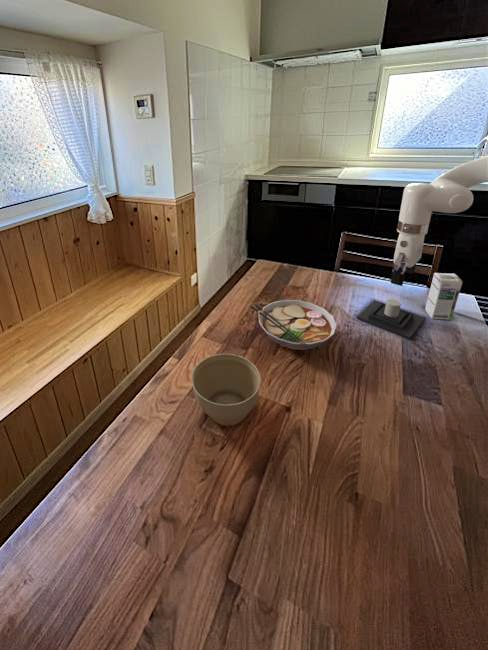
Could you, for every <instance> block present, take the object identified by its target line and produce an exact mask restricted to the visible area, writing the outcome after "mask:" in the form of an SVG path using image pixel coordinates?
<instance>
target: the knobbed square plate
mask: <svg viewBox="0 0 488 650" xmlns="http://www.w3.org/2000/svg"><path fill="white" fill-rule="evenodd" d="M385 304H386V306H383V307H382V308H381V309H380V310H379V311H378V312H377V313H376V315H375V316H378V317H381V318H383V319H386V320H389V321H391V322H394V323H397V324H400V323H401V322H402V321H403V320H404V318H405V317H406V315H407V314H406V313H404V312H401V311H399V310H400V309H401V305H402V302H400V300H397V299H393V298H388V299H387V300H386V301H385Z"/></svg>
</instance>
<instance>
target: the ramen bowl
mask: <svg viewBox="0 0 488 650" xmlns="http://www.w3.org/2000/svg"><path fill="white" fill-rule="evenodd" d="M250 309H252V310H253V311H255V312H256V313H257V314H258V323H259V325H260V327H261V328H262V331H264V333H265V334H266V335H267V336H268V338H269V339H270V340H272V341H273V342H274V343H276V344H278V345H280V346H281V347H284V348H288V349H292V350H298V351H299V350H300V351H301V350H302V351H306V350H309V351H310V350H312V349H315V348H318V347H320V346H321V345H322V344H325V342H327V340H329V339H331V338H332V337H333V336H334V335H335V331H336V328H337V322H336V321H335V319H334V316H333V315H332V314H331V313H330V312H328V311H327V309H325V308H324V307H321V306H319V305H316V304H314V303H312V302H308V301H304V300H299V299H283V300H277V301H274V302H271V303H269V304H267V305H265V306H263V307H262V306H260V305H259V304H258V303H255V304H254V305H252V304H251V305H250Z"/></svg>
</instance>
